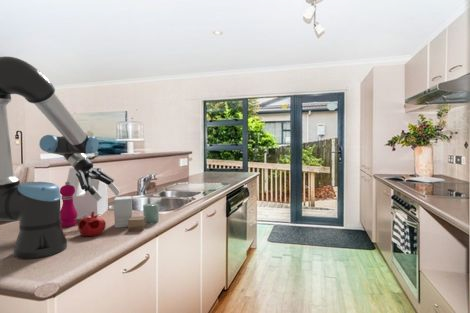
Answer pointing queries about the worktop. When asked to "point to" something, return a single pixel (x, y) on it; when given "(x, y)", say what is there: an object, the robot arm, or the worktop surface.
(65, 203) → the pepper mill
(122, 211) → the supplement box
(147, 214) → the green rounded block
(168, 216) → the worktop surface
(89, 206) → the milk carton
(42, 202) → the robot arm
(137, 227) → the walnut block
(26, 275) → the worktop surface
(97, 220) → the pomegranate
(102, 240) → the worktop surface
